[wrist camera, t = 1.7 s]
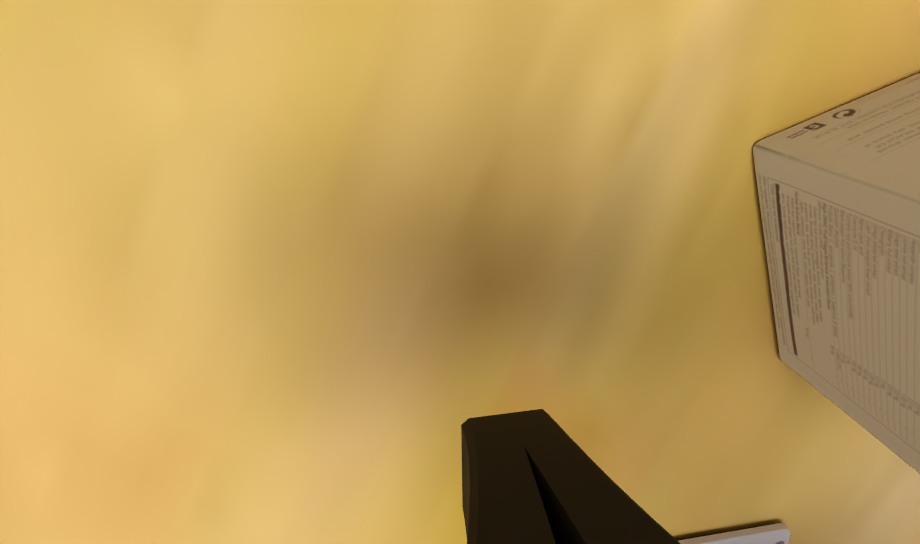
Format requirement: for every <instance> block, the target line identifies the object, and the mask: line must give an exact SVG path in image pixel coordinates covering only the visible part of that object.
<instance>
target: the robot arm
mask: <svg viewBox="0 0 920 544" xmlns="http://www.w3.org/2000/svg"><path fill="white" fill-rule="evenodd" d="M461 429H462V492H463V512H464V518H465V525H466V534H467V544H788V541H789V538H790V535H791V532H790V530H789V529H788V528H787V526H786V525H785V524H782V523H777V524H772V525H766V526H760V527H754V528H748V529H743V530H737V531H731V532H725V533H719V534H713V535H708V536H702V537H696V538H690V539H684V540H678V541H677V540H676V539H675V538H674V537H673V536H671V535H670V534H669V533H668V532H667V531H666V530H665V529H664V528H663V527H661V526H660V525H659V524H658V523H657V522H656V521H655V520H654V519H653V518H651V517H650V516H649V515H648V514H647V513H646V512H645V511H644V510H643V509H642V508H641V507H640V506H639V505H638V504H637V503H636V502H634V501H633V500H632V499H631V498H630V497H629V496H628V495H627V494H626V493H625V492H624V491H623V490H622V489H621V488H620V487H619V486H618V485H616V484H615V483H614V482H613V481H612V480H611V479H610V478H609V477H608V476H607V475H606V474H605V473H604V472H603V471H602V470H601V469H600V468H599V467H598V466H597V465H596V464H595V463H594V462H593V461H592V460H591V459H590V458H589V457H588V455H587V454H586V453H585V452H584V451H583V450H582V449H581V448H580V447H579V446H578V445H577V444H576V443H575V442H574V441H573V440H572V439H571V438H570V437H569V436H568V435H567V434H566V433H565V431H564V430H563V429H562V428H561V427H560V426H559V425H558V424H557V423H556V422H555V421H554V420H553V419H552V418H551V417H550V416H549V414H547V413H546V412H545V411H544V410H543V409H538V410H531V411H523V412H515V413H507V414H500V415H492V416H484V417H477V418H469V419H467V420H466V421H465V422H464V423H463V424H462V425H461Z"/></svg>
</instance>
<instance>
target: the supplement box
mask: <svg viewBox="0 0 920 544" xmlns="http://www.w3.org/2000/svg"><path fill="white" fill-rule="evenodd" d="M753 156H754V164H755V172H756V180H757V187H758V195H759V202H760V210H761V217H762V225H763V233H764V240H765V248H766V256H767V263H768V271H769V279H770V286H771V294H772V301H773V309H774V316H775V324H776V331H777V339H778V346H779V354H780V359H781V360H782V362H784V363H785V364H786V365H788V366H789V367H790V368H791V369H792V370H794V371H795V372H796V373H797V374H798V375H800V376H801V377H802V378H803V379H805V380H806V381H807V382H808V383H809V384H811V385H812V386H813V387H814V388H815V389H817V390H818V391H819V392H820V393H822V394H823V395H824V396H825V397H826V398H828V399H829V400H830V401H831V402H833V403H834V404H835V405H836V406H838V407H839V408H840V409H841V410H842V411H843V412H845V413H846V414H847V415H848V416H850V417H851V418H852V419H853V420H855V421H856V422H857V423H858V424H860V425H861V426H862V427H863V428H865V429H866V430H867V431H868V432H869V433H871V434H872V435H873V436H874V437H875V438H877V439H878V440H879V441H880V442H882V443H883V444H884V445H885V446H887V447H888V448H889V449H890V450H891V451H892V452H894V453H895V454H896V455H897V456H899V457H900V458H901V459H902V460H903V461H905V462H906V463H907V464H908V465H909V466H911V467H912V468H914V469H915V470H916V471H917V472H918V473H920V73H918V74H915V75H913V76H911V77H908V78H906V79H904V80H901V81H899V82H897V83H894V84H892V85H890V86H887V87H885V88H883V89H880V90H878V91H876V92H873V93H871V94H869V95H866V96H864V97H862V98H859V99H857V100H854V101H852V102H850V103H847V104H845V105H842V106H840V107H838V108H835V109H833V110H830V111H828V112H826V113H823V114H821V115H819V116H816V117H814V118H812V119H809V120H807V121H805V122H802V123H800V124H798V125H795V126H793V127H791V128H788V129H786V130H783V131H781V132H779V133H776V134H774V135H772V136H769V137H767V138H765V139H763V140H760V141H759V142H757V143H756V144H755V145H754V147H753Z"/></svg>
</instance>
